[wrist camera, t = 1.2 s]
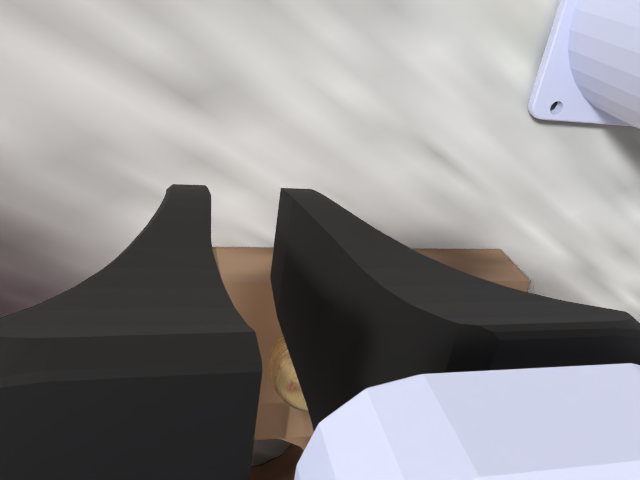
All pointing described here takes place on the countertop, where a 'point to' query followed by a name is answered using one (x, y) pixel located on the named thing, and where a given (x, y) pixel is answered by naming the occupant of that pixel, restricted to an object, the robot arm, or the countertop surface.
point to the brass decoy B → (285, 376)
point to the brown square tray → (260, 314)
